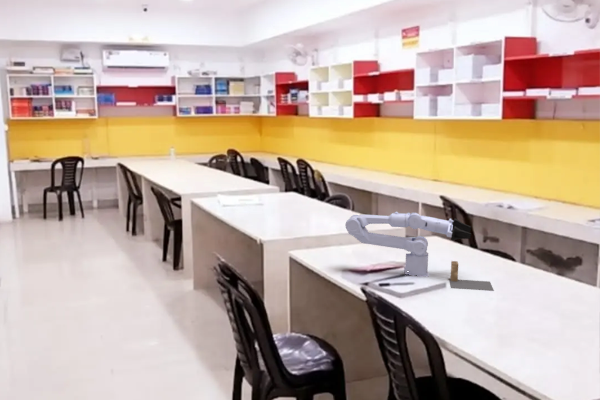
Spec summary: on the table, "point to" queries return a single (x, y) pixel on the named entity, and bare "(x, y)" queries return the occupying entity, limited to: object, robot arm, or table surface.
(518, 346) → the table surface
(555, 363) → the table surface
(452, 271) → the block
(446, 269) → the table surface
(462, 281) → the mat
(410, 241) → the robot arm
